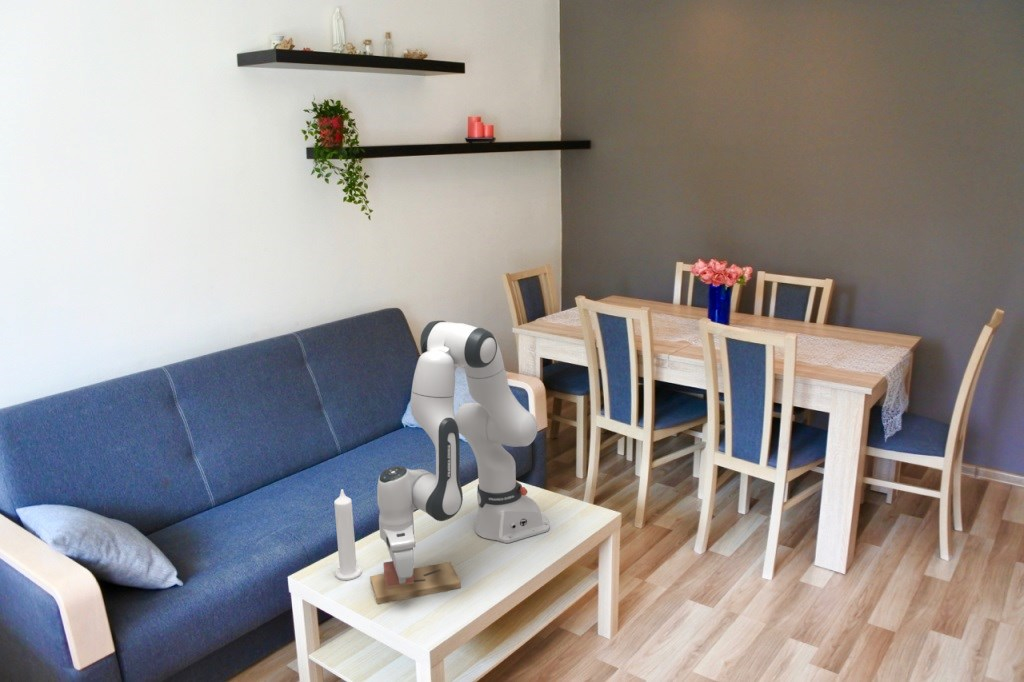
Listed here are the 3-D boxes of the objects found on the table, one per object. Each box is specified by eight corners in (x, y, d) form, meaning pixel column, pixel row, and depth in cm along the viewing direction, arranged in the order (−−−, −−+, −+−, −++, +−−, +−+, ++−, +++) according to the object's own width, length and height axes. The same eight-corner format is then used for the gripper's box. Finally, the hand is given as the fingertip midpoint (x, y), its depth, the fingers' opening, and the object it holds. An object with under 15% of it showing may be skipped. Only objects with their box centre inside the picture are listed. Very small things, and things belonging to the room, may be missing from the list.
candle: (357, 564, 226) (350, 481, 220) (365, 576, 220) (359, 491, 214) (332, 571, 223) (325, 487, 216) (339, 583, 217) (332, 497, 210)
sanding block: (410, 574, 217) (409, 557, 215) (414, 583, 213) (413, 566, 211) (384, 579, 215) (383, 562, 213) (387, 588, 210) (386, 571, 209)
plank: (450, 567, 223) (450, 561, 223) (460, 587, 213) (460, 581, 213) (370, 582, 217) (370, 576, 216) (377, 604, 207) (376, 597, 206)
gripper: (378, 513, 218) (381, 559, 222) (391, 549, 199) (394, 598, 203) (401, 509, 220) (404, 554, 224) (416, 544, 201) (419, 594, 205)
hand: (399, 576), depth 213 cm, fingers closed on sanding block, 4 cm apart
